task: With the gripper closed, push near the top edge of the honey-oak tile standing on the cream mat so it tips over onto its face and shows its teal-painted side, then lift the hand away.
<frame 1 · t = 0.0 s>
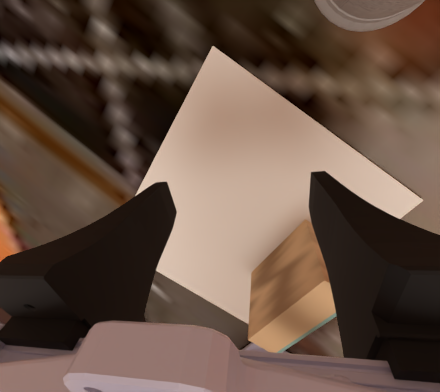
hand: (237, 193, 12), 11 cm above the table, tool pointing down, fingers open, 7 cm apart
mat: (241, 223, 25), on the table
tile: (287, 255, 26), resting on mat
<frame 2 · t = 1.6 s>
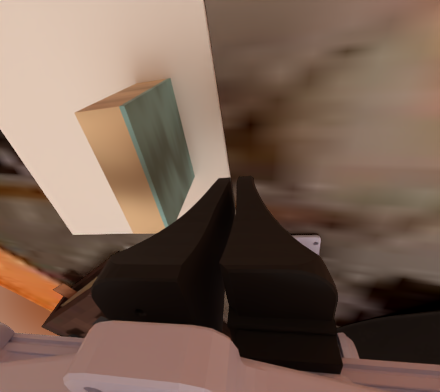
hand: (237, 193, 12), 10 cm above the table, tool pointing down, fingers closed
mat: (111, 139, 23), on the table
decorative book: (155, 307, 42), on the table
tile: (168, 134, 22), resting on mat
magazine: (357, 325, 36), on the table
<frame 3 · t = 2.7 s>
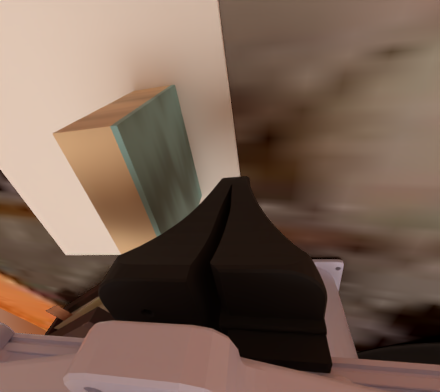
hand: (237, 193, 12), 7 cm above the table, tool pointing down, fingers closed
mat: (106, 154, 20), on the table
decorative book: (157, 327, 39), on the table
tile: (171, 149, 19), resting on mat
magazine: (376, 351, 33), on the table
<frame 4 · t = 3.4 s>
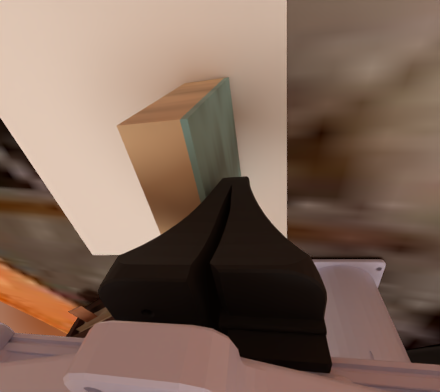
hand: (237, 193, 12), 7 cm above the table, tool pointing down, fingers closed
mat: (146, 150, 19), on the table
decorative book: (178, 328, 38), on the table
tile: (217, 146, 18), point 1 cm above the table, touching mat
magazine: (405, 353, 33), on the table
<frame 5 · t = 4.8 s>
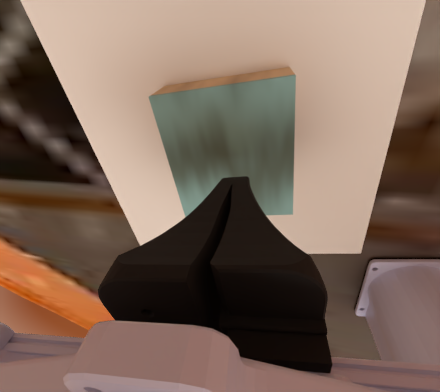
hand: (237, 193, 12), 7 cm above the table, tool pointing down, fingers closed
mat: (227, 142, 18), on the table
tile: (291, 146, 16), point 2 cm above the table, tilted 90°, touching mat
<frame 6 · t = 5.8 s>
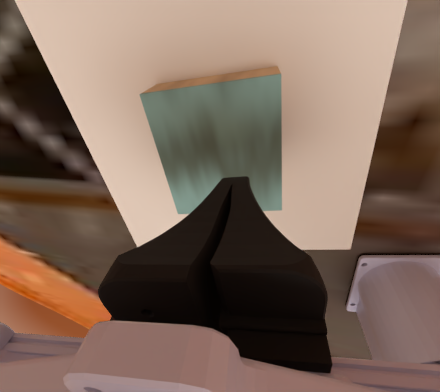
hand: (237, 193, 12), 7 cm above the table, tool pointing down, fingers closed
mat: (218, 139, 18), on the table
tile: (279, 144, 16), point 2 cm above the table, tilted 90°, touching mat
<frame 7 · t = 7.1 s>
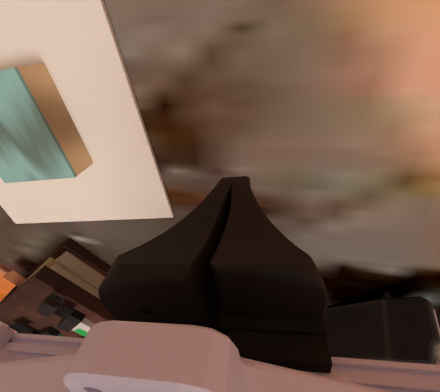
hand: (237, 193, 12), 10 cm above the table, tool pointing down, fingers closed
mat: (34, 122, 23), on the table
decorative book: (113, 299, 41), on the table
tile: (60, 123, 21), point 2 cm above the table, tilted 90°, touching mat
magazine: (307, 317, 36), on the table
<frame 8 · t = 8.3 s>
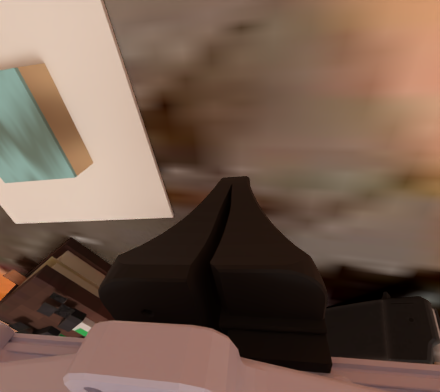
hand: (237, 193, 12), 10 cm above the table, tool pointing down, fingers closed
mat: (34, 122, 23), on the table
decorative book: (113, 299, 41), on the table
tile: (60, 123, 21), point 2 cm above the table, tilted 90°, touching mat
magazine: (307, 318, 36), on the table
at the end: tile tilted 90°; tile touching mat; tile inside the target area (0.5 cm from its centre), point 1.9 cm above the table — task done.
